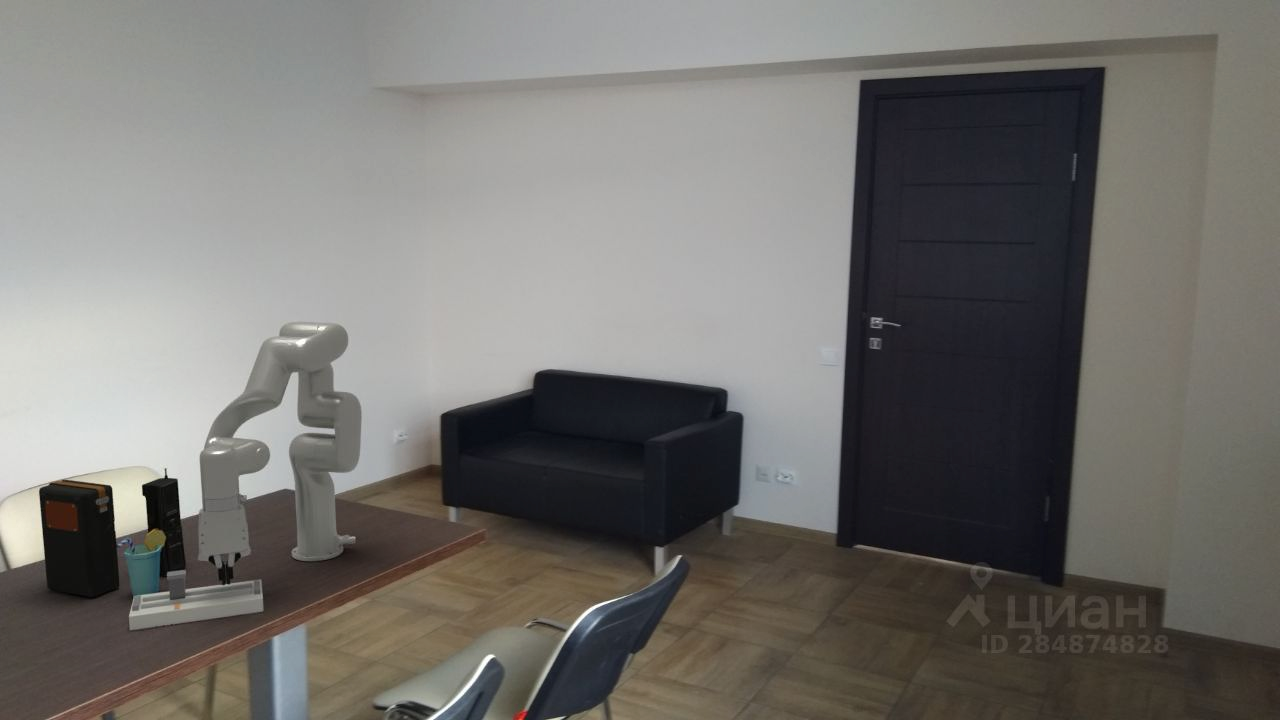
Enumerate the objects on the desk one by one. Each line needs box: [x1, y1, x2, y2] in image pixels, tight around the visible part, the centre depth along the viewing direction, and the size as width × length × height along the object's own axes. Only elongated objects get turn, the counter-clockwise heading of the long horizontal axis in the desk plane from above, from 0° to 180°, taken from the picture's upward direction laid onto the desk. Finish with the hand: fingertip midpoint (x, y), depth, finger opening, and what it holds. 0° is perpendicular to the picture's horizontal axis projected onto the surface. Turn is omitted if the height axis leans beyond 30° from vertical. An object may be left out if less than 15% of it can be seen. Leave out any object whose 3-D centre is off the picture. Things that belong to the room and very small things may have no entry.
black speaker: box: [38, 479, 121, 598], centre depth 218 cm, size 16×9×25 cm, turn 71°
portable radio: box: [141, 468, 187, 577], centre depth 230 cm, size 8×6×25 cm
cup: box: [116, 529, 166, 598], centre depth 216 cm, size 14×8×15 cm, turn 171°
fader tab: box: [166, 569, 187, 600], centre depth 206 cm, size 4×3×6 cm
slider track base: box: [128, 579, 264, 631], centre depth 209 cm, size 26×12×4 cm, turn 113°
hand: (226, 582), depth 211 cm, fingers closed
